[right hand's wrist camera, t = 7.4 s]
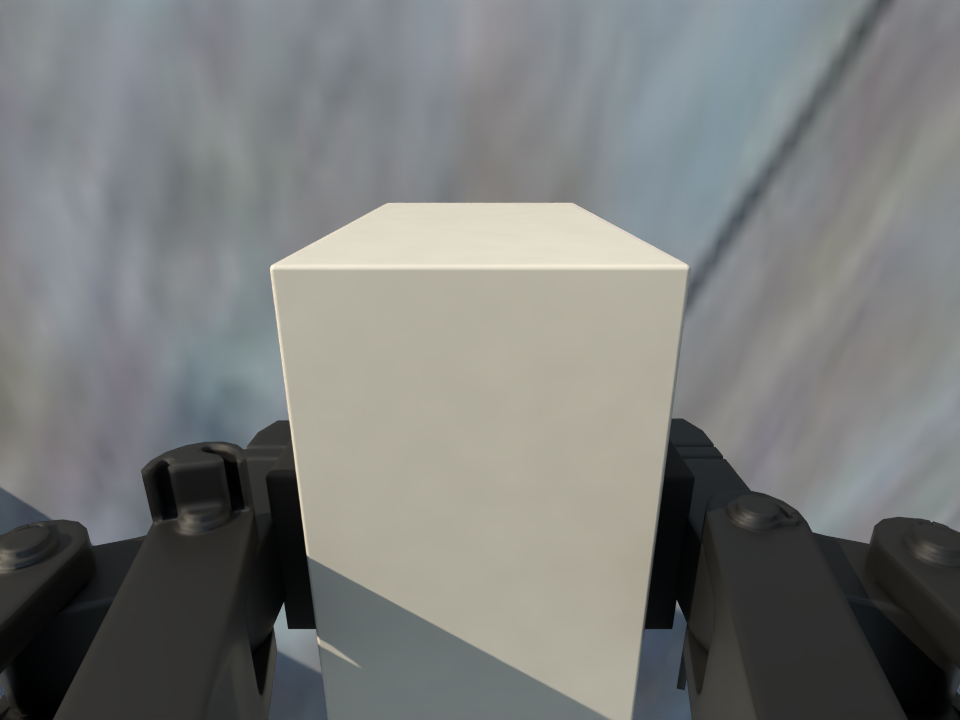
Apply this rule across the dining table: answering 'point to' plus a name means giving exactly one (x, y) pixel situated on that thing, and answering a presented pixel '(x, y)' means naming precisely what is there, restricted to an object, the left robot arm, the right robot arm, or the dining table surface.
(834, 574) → the right robot arm
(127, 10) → the dining table surface
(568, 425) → the bar
